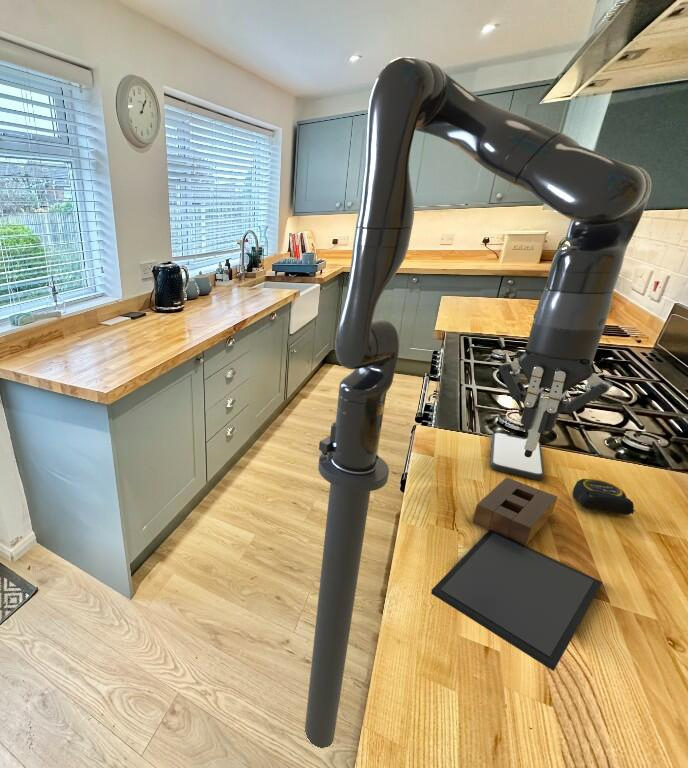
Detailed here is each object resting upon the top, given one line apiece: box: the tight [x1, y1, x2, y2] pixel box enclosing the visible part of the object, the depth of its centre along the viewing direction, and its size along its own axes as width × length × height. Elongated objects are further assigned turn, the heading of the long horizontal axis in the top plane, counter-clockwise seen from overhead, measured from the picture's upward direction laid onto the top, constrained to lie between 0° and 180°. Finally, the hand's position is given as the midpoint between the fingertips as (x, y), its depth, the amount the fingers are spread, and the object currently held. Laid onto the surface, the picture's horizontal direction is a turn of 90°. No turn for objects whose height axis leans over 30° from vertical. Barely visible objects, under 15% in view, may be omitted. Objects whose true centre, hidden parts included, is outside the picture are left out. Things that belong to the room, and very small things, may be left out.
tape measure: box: [572, 478, 636, 516], centre depth 75 cm, size 7×7×4 cm
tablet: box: [430, 529, 603, 672], centre depth 60 cm, size 14×20×1 cm
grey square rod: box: [524, 397, 549, 457], centre depth 65 cm, size 1×1×10 cm
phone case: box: [489, 432, 545, 481], centre depth 91 cm, size 9×2×16 cm
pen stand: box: [471, 476, 559, 546], centre depth 73 cm, size 8×13×4 cm, turn 125°
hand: (535, 429), depth 65 cm, fingers closed on grey square rod, 1 cm apart
